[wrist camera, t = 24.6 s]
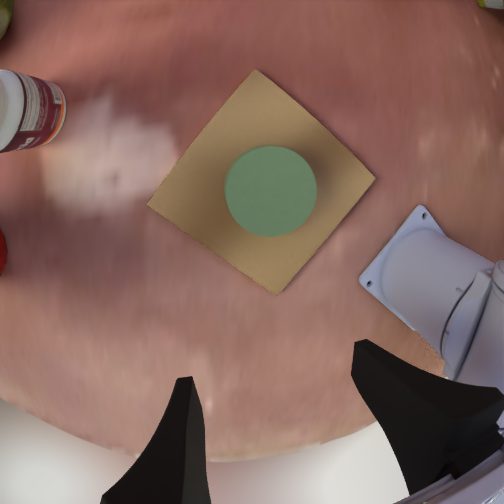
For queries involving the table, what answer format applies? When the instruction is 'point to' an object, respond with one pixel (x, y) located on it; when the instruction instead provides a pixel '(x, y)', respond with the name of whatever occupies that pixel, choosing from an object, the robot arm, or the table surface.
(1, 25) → the fruit
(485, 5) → the alarm clock
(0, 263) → the plastic cup
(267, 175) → the jar lid
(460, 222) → the table surface
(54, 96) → the pill bottle
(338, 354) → the table surface
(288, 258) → the plate
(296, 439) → the table surface
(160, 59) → the table surface
